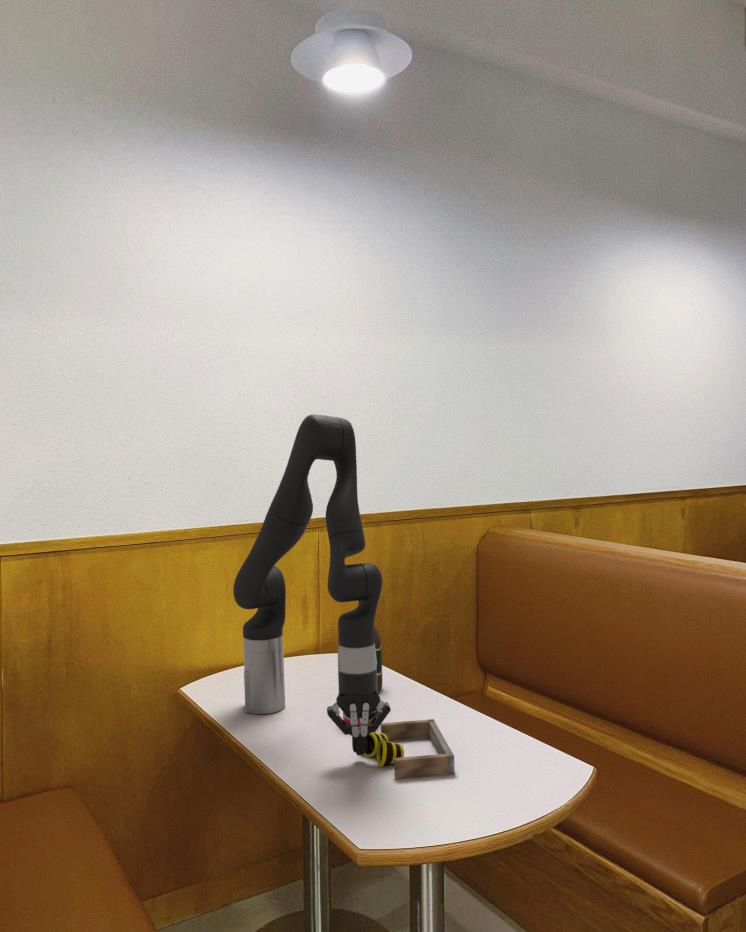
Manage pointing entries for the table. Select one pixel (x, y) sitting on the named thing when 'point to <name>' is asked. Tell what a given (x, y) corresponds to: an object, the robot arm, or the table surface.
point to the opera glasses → (383, 748)
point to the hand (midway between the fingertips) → (359, 753)
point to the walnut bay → (420, 764)
